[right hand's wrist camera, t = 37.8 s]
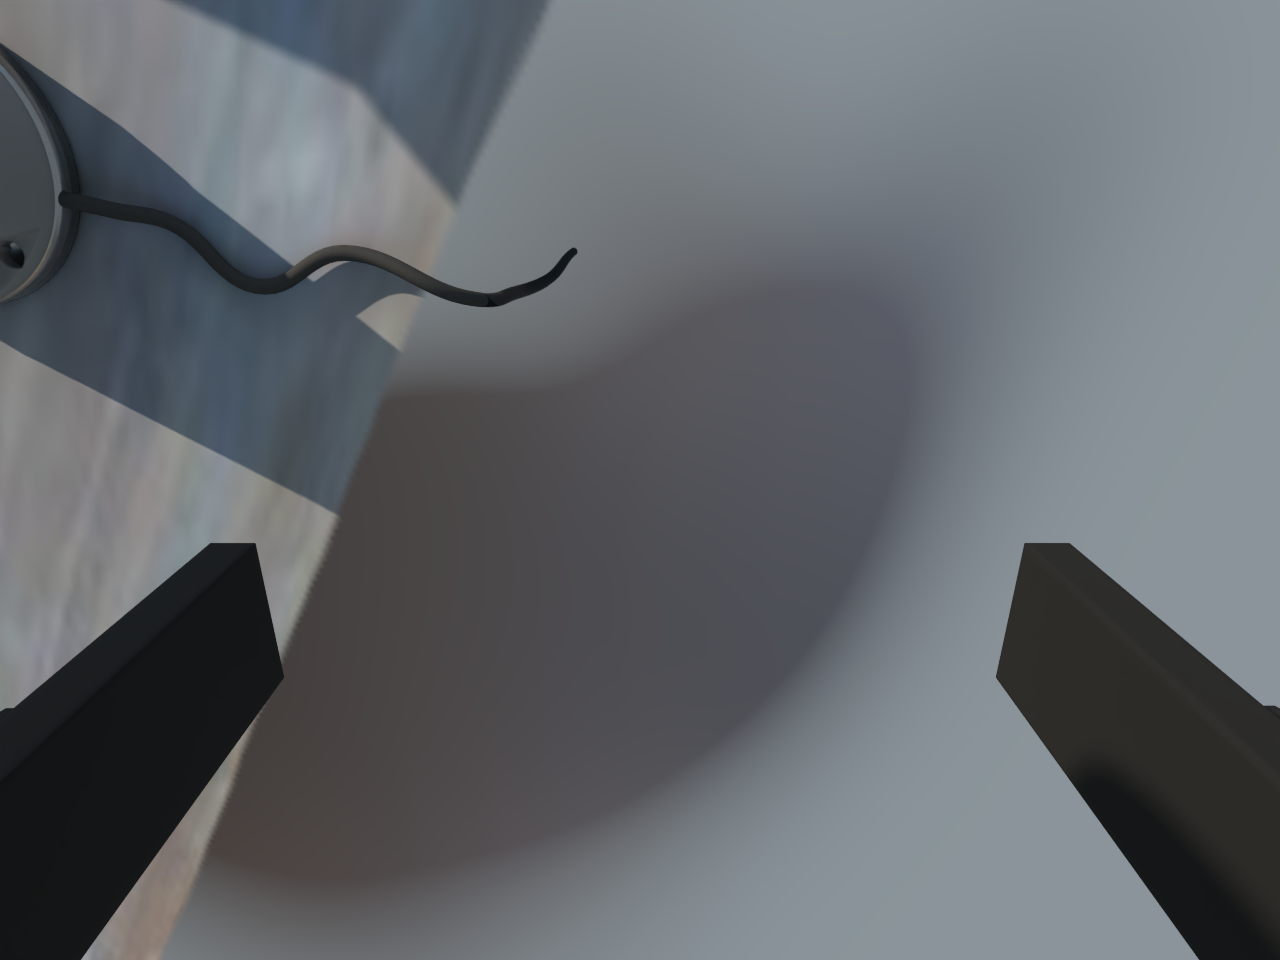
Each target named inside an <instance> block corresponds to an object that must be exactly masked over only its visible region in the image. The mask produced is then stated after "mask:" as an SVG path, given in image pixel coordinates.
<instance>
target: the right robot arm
mask: <svg viewBox="0 0 1280 960" xmlns="http://www.w3.org/2000/svg"><path fill="white" fill-rule="evenodd" d="M79 211H82V212H87V213H91V214H96V215H100V216H105V217H109V218H114V219H119V220H125V221H132V222H139V223H146V224H151V225H155V226H159V227H162V228H165V229H167V230H169V231H171V232H173V233H175V234H177V235H178V236H180V237H181V238H183V239H184V240H185V241H187V242H188V243H189V244H190V245H191V246H192V247H193V248H194V249H195V250H196V251H197V252H198V253H199V254H200V255H201V256H202V257H203V258H204V259H205V260H206V261H207V262H208V264H209V265H210V266H211V267H212V268H213V269H214V270H215V271H216V272H217V273H218V274H219V275H221V276H222V277H223V278H224V279H226V280H227V281H228V282H230V283H231V284H233V285H234V286H236V287H238V288H240V289H242V290H245V291H248V292H251V293H255V294H276V293H279V292H282V291H285V290H287V289H289V288H291V287H293V286H294V285H296V284H298V283H299V282H300V281H302V280H303V279H305V278H306V277H307V276H309V275H310V274H311V273H313V272H314V271H316V270H317V269H319V268H321V267H322V266H324V265H327V264H329V263H332V262H336V261H355V262H361V263H366V264H370V265H373V266H376V267H379V268H381V269H384V270H386V271H388V272H391V273H393V274H395V275H397V276H399V277H400V278H402V279H404V280H406V281H408V282H410V283H412V284H414V285H415V286H417V287H419V288H421V289H423V290H425V291H427V292H429V293H431V294H433V295H436V296H438V297H440V298H443V299H446V300H449V301H452V302H455V303H460V304H464V305H469V306H477V307H498V306H502V305H505V304H507V303H509V302H511V301H514V300H517V299H520V298H523V297H526V296H529V295H532V294H534V293H536V292H538V291H541V290H542V289H544V288H546V287H548V286H549V285H550V284H552V283H553V282H554V281H555V280H556V279H557V278H558V277H559V276H560V275H561V274H562V273H563V271H564V270H565V268H566V267H567V265H568V263H569V262H570V261H571V259H572V258H573V257H574V256H575V255H576V254H577V252H578V251H577V249H576V248H571V249H570V250H569V251H567V252H566V253H565V254H564V255H563V256H562V258H561V259H560V260H559V261H558V263H557V264H556V265H555V266H554V268H553V269H552V270H551V271H549V272H548V273H547V274H545V275H544V276H542V277H540V278H538V279H535V280H533V281H530V282H527V283H524V284H520V285H516V286H513V287H509V288H506V289H504V290H501V291H499V292H495V293H480V292H473V291H468V290H464V289H460V288H456V287H453V286H451V285H448V284H445V283H443V282H441V281H438V280H436V279H434V278H432V277H430V276H428V275H426V274H425V273H423V272H421V271H419V270H417V269H415V268H413V267H412V266H410V265H408V264H406V263H404V262H402V261H400V260H398V259H396V258H394V257H392V256H389V255H387V254H384V253H382V252H379V251H376V250H373V249H369V248H364V247H359V246H349V245H338V246H331V247H327V248H323V249H321V250H319V251H316V252H315V253H313V254H311V255H309V256H308V257H306V258H305V259H304V260H302V261H301V262H299V263H298V264H297V265H295V266H294V267H293V268H291V269H290V270H288V271H287V272H285V273H284V274H282V275H280V276H278V277H274V278H271V279H256V278H252V277H249V276H246V275H244V274H242V273H240V272H239V271H237V270H236V269H235V268H233V267H232V266H231V265H230V264H229V263H228V262H227V261H226V260H225V259H224V258H223V257H222V256H221V255H220V254H219V253H218V252H217V251H216V249H215V248H214V247H213V246H212V245H211V244H210V243H209V242H208V241H207V240H206V239H205V238H204V237H203V236H202V235H201V234H200V233H198V232H197V231H196V230H195V229H194V228H192V227H191V226H190V225H188V224H187V223H185V222H184V221H182V220H180V219H178V218H176V217H174V216H172V215H170V214H168V213H165V212H162V211H159V210H155V209H151V208H146V207H139V206H132V205H125V204H119V203H114V202H110V201H105V200H101V199H97V198H92V197H88V196H83V195H79V184H78V176H77V171H76V167H75V162H74V159H73V155H72V152H71V149H70V146H69V143H68V141H67V138H66V136H65V133H64V131H63V129H62V127H61V125H60V123H59V121H58V119H57V116H56V114H55V113H54V111H53V109H52V108H51V106H50V104H49V103H48V101H47V99H46V98H45V97H44V95H43V94H42V92H41V91H40V89H39V88H38V87H37V85H36V84H35V83H34V81H33V80H32V79H31V78H30V76H29V75H28V74H27V73H26V72H25V70H24V69H23V68H22V67H21V66H20V65H19V64H18V63H17V62H16V61H15V60H14V59H13V58H12V57H11V56H10V55H9V54H8V53H7V52H6V51H5V50H4V49H2V48H1V47H0V304H1V303H6V302H9V301H13V300H16V299H19V298H21V297H24V296H26V295H28V294H30V293H32V292H33V291H35V290H37V289H38V288H40V287H41V286H42V285H44V284H45V283H46V282H47V281H48V280H49V279H50V278H51V277H52V276H53V275H54V274H55V273H56V272H57V271H58V270H59V268H60V267H61V266H62V264H63V263H64V261H65V259H66V257H67V256H68V254H69V252H70V249H71V247H72V244H73V242H74V238H75V235H76V231H77V226H78V220H79ZM283 678H284V675H283V670H282V665H281V660H280V656H279V651H278V646H277V642H276V637H275V632H274V628H273V623H272V618H271V614H270V609H269V604H268V600H267V595H266V590H265V586H264V581H263V576H262V572H261V567H260V562H259V558H258V553H257V548H256V544H255V543H210V544H209V545H208V546H207V547H205V548H204V549H203V550H202V551H201V552H199V553H198V554H197V555H196V556H195V557H193V558H192V559H191V560H190V561H189V562H187V563H186V564H185V565H184V566H183V567H182V568H180V569H179V570H178V571H177V572H176V573H174V574H173V575H172V576H171V577H170V578H168V579H167V580H166V581H165V582H164V583H162V584H161V585H160V586H159V587H158V588H156V589H155V590H154V591H153V592H152V593H151V594H149V595H148V596H147V597H146V598H145V599H143V600H142V601H141V602H140V603H139V604H137V605H136V606H135V607H134V608H133V609H131V610H130V611H129V612H128V613H127V614H125V615H124V616H123V617H122V618H121V619H120V620H118V621H117V622H116V623H115V624H114V625H112V626H111V627H110V628H109V629H108V630H106V631H105V632H104V633H103V634H102V635H100V636H99V637H98V638H97V639H96V640H94V641H93V642H92V643H91V644H90V645H89V646H87V647H86V648H85V649H84V650H83V651H81V652H80V653H79V654H78V655H77V656H75V657H74V658H73V659H72V660H71V661H69V662H68V663H67V664H66V665H65V666H63V667H62V668H61V669H60V670H59V671H58V672H56V673H55V674H54V675H53V676H52V677H50V678H49V679H48V680H47V681H46V682H44V683H43V684H42V685H41V686H40V687H38V688H37V689H36V690H35V691H34V692H32V693H31V694H30V695H29V696H28V697H27V698H25V699H24V700H23V701H22V702H21V703H19V704H18V705H17V706H16V707H15V708H6V709H4V710H2V711H0V960H81V959H82V957H83V956H84V955H85V953H86V952H87V950H88V949H89V948H90V946H91V945H92V943H93V942H94V941H95V939H96V938H97V936H98V935H99V934H100V932H101V931H102V930H103V928H104V927H105V925H106V924H107V923H108V921H109V920H110V918H111V917H112V916H113V914H114V913H115V911H116V910H117V909H118V907H119V906H120V905H121V903H122V902H123V900H124V899H125V898H126V896H127V895H128V893H129V892H130V891H131V889H132V888H133V886H134V885H135V884H136V882H137V881H138V880H139V878H140V877H141V875H142V874H143V873H144V871H145V870H146V868H147V867H148V866H149V864H150V863H151V861H152V860H153V859H154V857H155V856H156V855H157V853H158V852H159V850H160V849H161V848H162V846H163V845H164V843H165V842H166V841H167V839H168V838H169V836H170V835H171V834H172V832H173V831H174V830H175V828H176V827H177V825H178V824H179V823H180V821H181V820H182V818H183V817H184V816H185V814H186V813H187V811H188V810H189V809H190V807H191V806H192V805H193V803H194V802H195V800H196V799H197V798H198V796H199V795H200V793H201V792H202V791H203V789H204V788H205V786H206V785H207V784H208V782H209V781H210V780H211V778H212V777H213V775H214V774H215V773H216V771H217V770H218V768H219V767H220V766H221V764H222V763H223V761H224V760H225V759H226V757H227V756H228V755H229V753H230V752H231V750H232V749H233V748H234V746H235V745H236V743H237V742H238V741H239V739H240V738H241V736H242V735H243V734H244V732H245V731H246V730H247V728H248V727H249V725H250V724H251V723H252V721H253V720H254V718H255V717H256V716H257V714H258V713H259V711H260V710H261V709H262V707H263V706H264V705H265V703H266V702H267V700H268V699H269V698H270V696H271V695H272V693H273V692H274V691H275V689H276V688H277V686H278V685H279V684H280V682H281V681H282V680H283ZM996 678H997V680H998V681H999V682H1000V684H1001V685H1002V686H1003V688H1004V689H1005V691H1006V692H1007V693H1008V695H1009V696H1010V698H1011V699H1012V700H1013V702H1014V703H1015V705H1016V706H1017V707H1018V709H1019V710H1020V711H1021V713H1022V714H1023V716H1024V717H1025V718H1026V720H1027V721H1028V722H1029V724H1030V725H1031V727H1032V728H1033V730H1034V731H1035V732H1036V734H1037V735H1038V736H1039V738H1040V739H1041V741H1042V742H1043V743H1044V745H1045V746H1046V748H1047V749H1048V750H1049V752H1050V753H1051V755H1052V756H1053V757H1054V759H1055V760H1056V761H1057V763H1058V764H1059V766H1060V767H1061V768H1062V770H1063V771H1064V772H1065V774H1066V775H1067V777H1068V778H1069V780H1070V781H1071V782H1072V784H1073V785H1074V786H1075V788H1076V789H1077V791H1078V792H1079V793H1080V795H1081V796H1082V798H1083V799H1084V800H1085V802H1086V803H1087V804H1088V806H1089V807H1090V809H1091V810H1092V811H1093V813H1094V814H1095V816H1096V817H1097V818H1098V820H1099V821H1100V823H1101V824H1102V825H1103V827H1104V828H1105V829H1106V831H1107V832H1108V834H1109V835H1110V836H1111V838H1112V839H1113V841H1114V842H1115V843H1116V845H1117V846H1118V848H1119V849H1120V850H1121V852H1122V853H1123V855H1124V856H1125V857H1126V859H1127V860H1128V861H1129V863H1130V864H1131V866H1132V867H1133V868H1134V870H1135V871H1136V873H1137V874H1138V875H1139V877H1140V878H1141V879H1142V881H1143V882H1144V884H1145V885H1146V886H1147V888H1148V889H1149V891H1150V892H1151V893H1152V895H1153V896H1154V898H1155V899H1156V900H1157V902H1158V903H1159V905H1160V906H1161V907H1162V909H1163V910H1164V911H1165V913H1166V914H1167V916H1168V917H1169V918H1170V920H1171V921H1172V923H1173V924H1174V925H1175V927H1176V928H1177V929H1178V931H1179V932H1180V934H1181V935H1182V936H1183V938H1184V939H1185V941H1186V942H1187V943H1188V945H1189V946H1190V948H1191V949H1192V950H1193V952H1194V953H1195V955H1196V956H1197V957H1198V959H1199V960H1280V708H1278V707H1276V706H1263V705H1262V704H1261V703H1259V702H1258V701H1257V700H1256V699H1255V698H1253V697H1252V696H1251V695H1250V694H1249V693H1247V692H1246V691H1245V690H1244V689H1243V688H1242V687H1240V686H1239V685H1238V684H1237V683H1236V682H1234V681H1233V680H1232V679H1231V678H1230V677H1228V676H1227V675H1226V674H1225V673H1224V672H1222V671H1221V670H1220V669H1219V668H1218V667H1216V666H1215V665H1214V664H1213V663H1212V662H1211V661H1209V660H1208V659H1207V658H1206V657H1205V656H1203V655H1202V654H1201V653H1200V652H1199V651H1197V650H1196V649H1195V648H1194V647H1193V646H1191V645H1190V644H1189V643H1188V642H1187V641H1185V640H1184V639H1183V638H1182V637H1181V636H1180V635H1178V634H1177V633H1176V632H1175V631H1174V630H1172V629H1171V628H1170V627H1169V626H1168V625H1166V624H1165V623H1164V622H1163V621H1162V620H1160V619H1159V618H1158V617H1157V616H1156V615H1154V614H1153V613H1152V612H1151V611H1150V610H1149V609H1147V608H1146V607H1145V606H1144V605H1143V604H1141V603H1140V602H1139V601H1138V600H1137V599H1135V598H1134V597H1133V596H1132V595H1131V594H1129V593H1128V592H1127V591H1126V590H1125V589H1124V588H1122V587H1121V586H1120V585H1119V584H1118V583H1116V582H1115V581H1114V580H1113V579H1112V578H1110V577H1109V576H1108V575H1107V574H1106V573H1104V572H1103V571H1102V570H1101V569H1100V568H1098V567H1097V566H1096V565H1095V564H1094V563H1093V562H1091V561H1090V560H1089V559H1088V558H1087V557H1085V556H1084V555H1083V554H1082V553H1081V552H1079V551H1078V550H1077V549H1076V548H1075V547H1073V546H1072V545H1071V544H1070V543H1025V544H1024V548H1023V553H1022V558H1021V563H1020V567H1019V572H1018V576H1017V581H1016V586H1015V590H1014V595H1013V600H1012V605H1011V609H1010V614H1009V618H1008V623H1007V628H1006V632H1005V637H1004V642H1003V647H1002V651H1001V656H1000V660H999V665H998V670H997V675H996Z"/></svg>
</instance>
